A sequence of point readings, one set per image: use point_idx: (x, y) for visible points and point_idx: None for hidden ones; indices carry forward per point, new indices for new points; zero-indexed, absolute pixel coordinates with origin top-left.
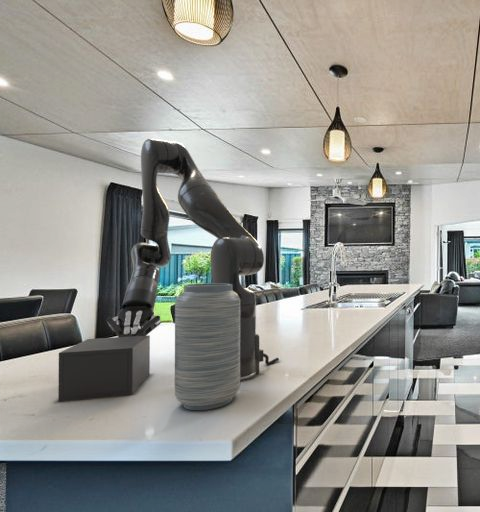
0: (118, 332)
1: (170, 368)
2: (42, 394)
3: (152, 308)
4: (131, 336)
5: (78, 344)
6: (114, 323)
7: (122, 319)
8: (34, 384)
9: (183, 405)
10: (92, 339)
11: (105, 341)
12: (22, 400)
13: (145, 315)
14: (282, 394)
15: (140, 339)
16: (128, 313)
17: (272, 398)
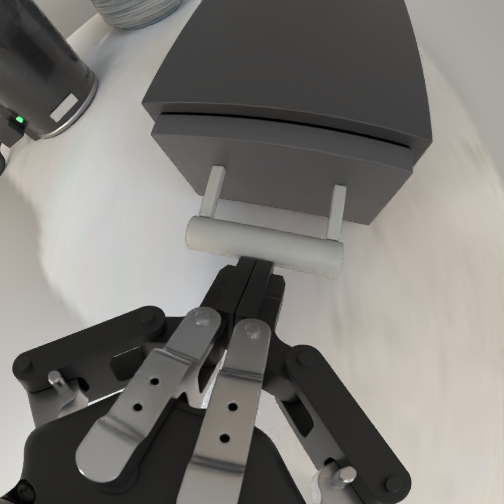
0: (306, 345)
1: (137, 240)
2: (437, 137)
3: (20, 483)
4: (219, 100)
5: (409, 42)
6: (345, 436)
7: (278, 471)
8: (489, 253)
9: (180, 2)
10: (404, 112)
11: (324, 41)
12: (452, 117)
13: (79, 432)
14: (79, 30)
15: (191, 35)
16: (209, 494)
17: (94, 20)
